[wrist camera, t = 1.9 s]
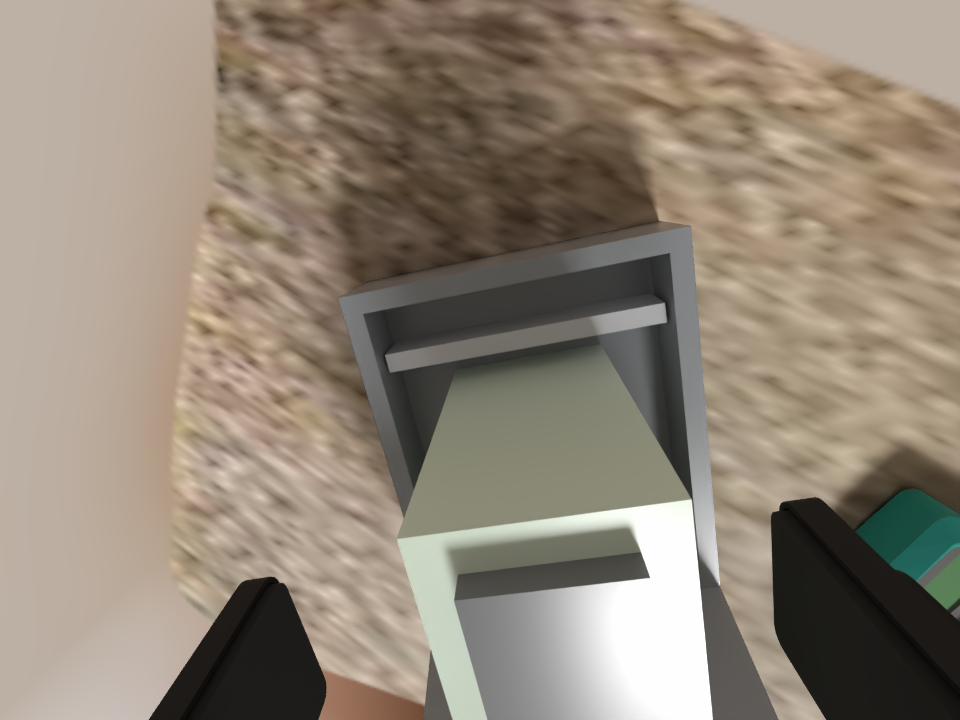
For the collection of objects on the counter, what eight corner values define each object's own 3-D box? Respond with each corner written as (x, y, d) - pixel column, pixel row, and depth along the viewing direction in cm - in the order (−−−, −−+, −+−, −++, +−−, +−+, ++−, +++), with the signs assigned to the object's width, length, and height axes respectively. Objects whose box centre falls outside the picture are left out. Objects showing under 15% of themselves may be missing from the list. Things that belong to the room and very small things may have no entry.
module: (600, 343, 16) (705, 522, 7) (618, 472, 18) (725, 755, 9) (456, 369, 17) (388, 563, 8) (485, 492, 19) (456, 774, 9)
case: (659, 221, 16) (690, 225, 13) (690, 529, 19) (719, 586, 17) (367, 281, 17) (338, 298, 14) (445, 560, 21) (434, 618, 18)
